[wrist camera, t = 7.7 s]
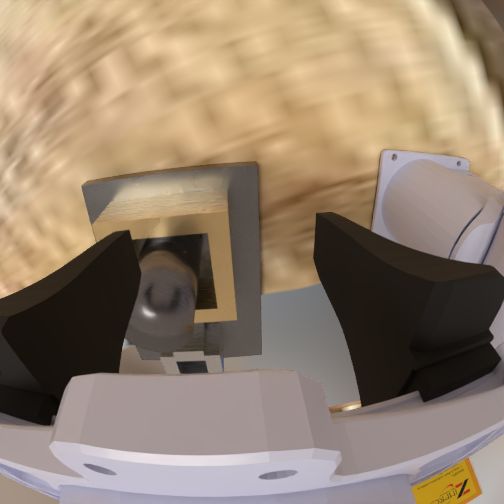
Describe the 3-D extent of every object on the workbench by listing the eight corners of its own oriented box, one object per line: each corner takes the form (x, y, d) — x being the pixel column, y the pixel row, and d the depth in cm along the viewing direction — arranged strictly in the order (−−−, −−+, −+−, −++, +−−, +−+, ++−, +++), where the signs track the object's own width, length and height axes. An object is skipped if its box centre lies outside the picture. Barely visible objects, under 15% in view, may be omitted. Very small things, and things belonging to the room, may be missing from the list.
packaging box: (430, 420, 52) (461, 500, 31) (370, 447, 54) (394, 531, 33) (440, 395, 44) (483, 492, 23) (368, 428, 46) (400, 535, 25)
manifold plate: (255, 161, 19) (264, 182, 15) (260, 346, 28) (266, 383, 24) (86, 181, 18) (58, 205, 14) (143, 352, 28) (136, 388, 24)
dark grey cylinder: (201, 218, 19) (189, 294, 13) (203, 268, 21) (197, 353, 15) (143, 219, 19) (105, 293, 12) (151, 268, 21) (125, 350, 14)
